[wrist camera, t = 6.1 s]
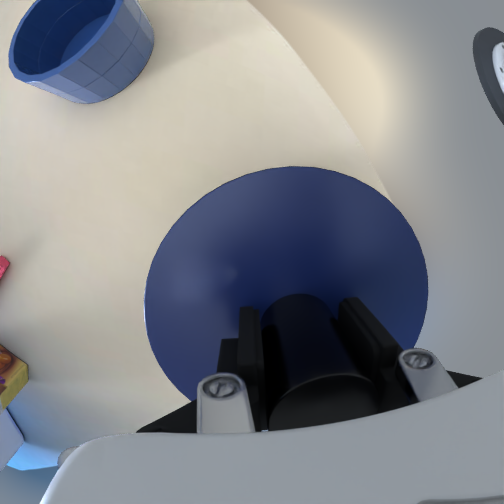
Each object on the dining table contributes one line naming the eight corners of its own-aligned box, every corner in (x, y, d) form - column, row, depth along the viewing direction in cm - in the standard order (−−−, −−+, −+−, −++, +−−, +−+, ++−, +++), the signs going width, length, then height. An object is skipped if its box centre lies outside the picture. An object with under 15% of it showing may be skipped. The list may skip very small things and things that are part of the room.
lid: (422, 169, 12) (528, 172, 5) (396, 396, 15) (441, 471, 8) (132, 181, 12) (34, 188, 5) (178, 419, 15) (157, 510, 8)
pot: (157, -1, 22) (133, -48, 12) (152, 89, 24) (116, 53, 15) (64, 29, 21) (24, -1, 12) (53, 116, 24) (-1, 101, 15)
